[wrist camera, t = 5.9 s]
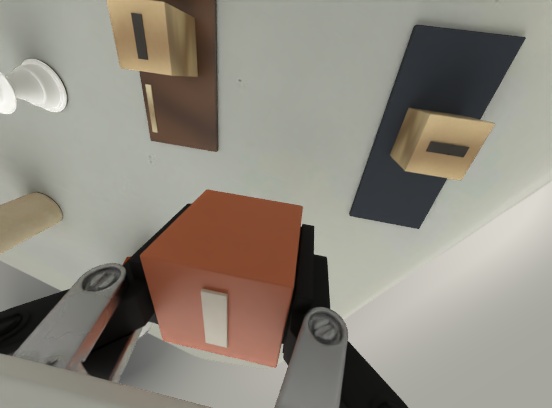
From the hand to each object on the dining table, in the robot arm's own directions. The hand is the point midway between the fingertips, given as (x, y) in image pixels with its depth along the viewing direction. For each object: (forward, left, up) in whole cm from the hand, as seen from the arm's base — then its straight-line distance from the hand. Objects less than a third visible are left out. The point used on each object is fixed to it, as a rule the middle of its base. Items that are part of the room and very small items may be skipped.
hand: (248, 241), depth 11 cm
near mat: (-3, +13, -16) cm, 20 cm away
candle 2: (+15, -36, -16) cm, 43 cm away
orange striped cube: (0, 0, 0) cm, 0 cm away
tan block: (-4, +13, -15) cm, 20 cm away
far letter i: (-8, -12, -15) cm, 21 cm away
